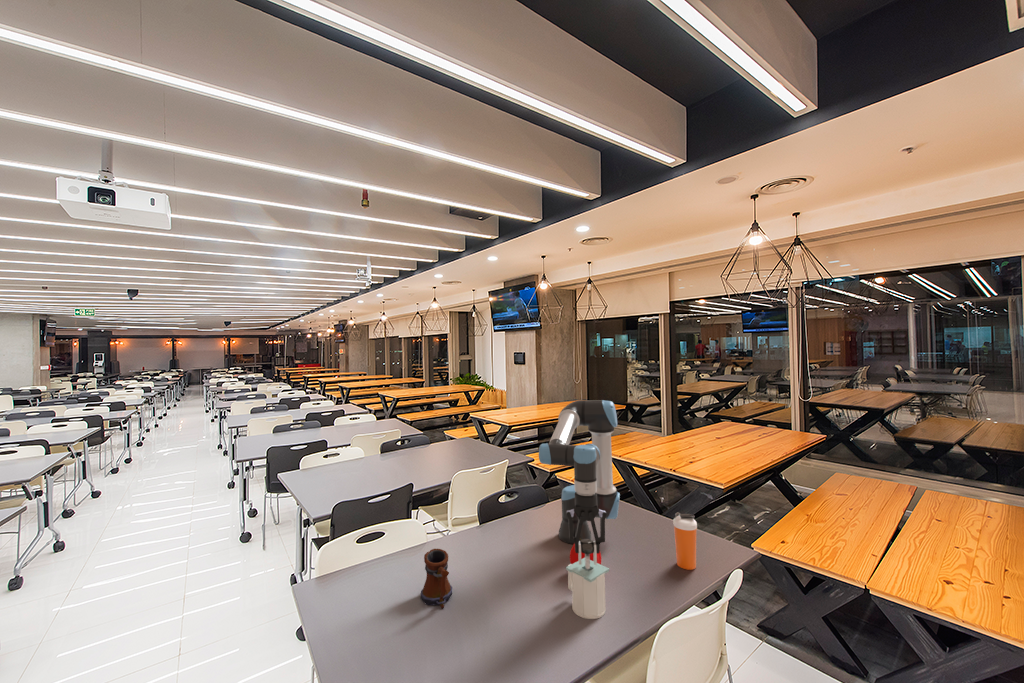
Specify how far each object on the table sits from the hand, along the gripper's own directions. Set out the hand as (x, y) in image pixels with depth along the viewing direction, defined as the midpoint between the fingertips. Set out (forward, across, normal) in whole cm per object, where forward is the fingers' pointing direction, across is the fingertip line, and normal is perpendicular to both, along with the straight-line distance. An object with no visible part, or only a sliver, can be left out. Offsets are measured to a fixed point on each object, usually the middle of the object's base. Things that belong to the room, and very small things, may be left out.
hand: (587, 562), depth 136 cm
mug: (+15, -52, +2) cm, 54 cm away
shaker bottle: (+15, +42, +30) cm, 54 cm away
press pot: (+15, -1, +1) cm, 15 cm away
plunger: (+12, 0, 0) cm, 12 cm away
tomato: (+15, +1, +21) cm, 26 cm away
